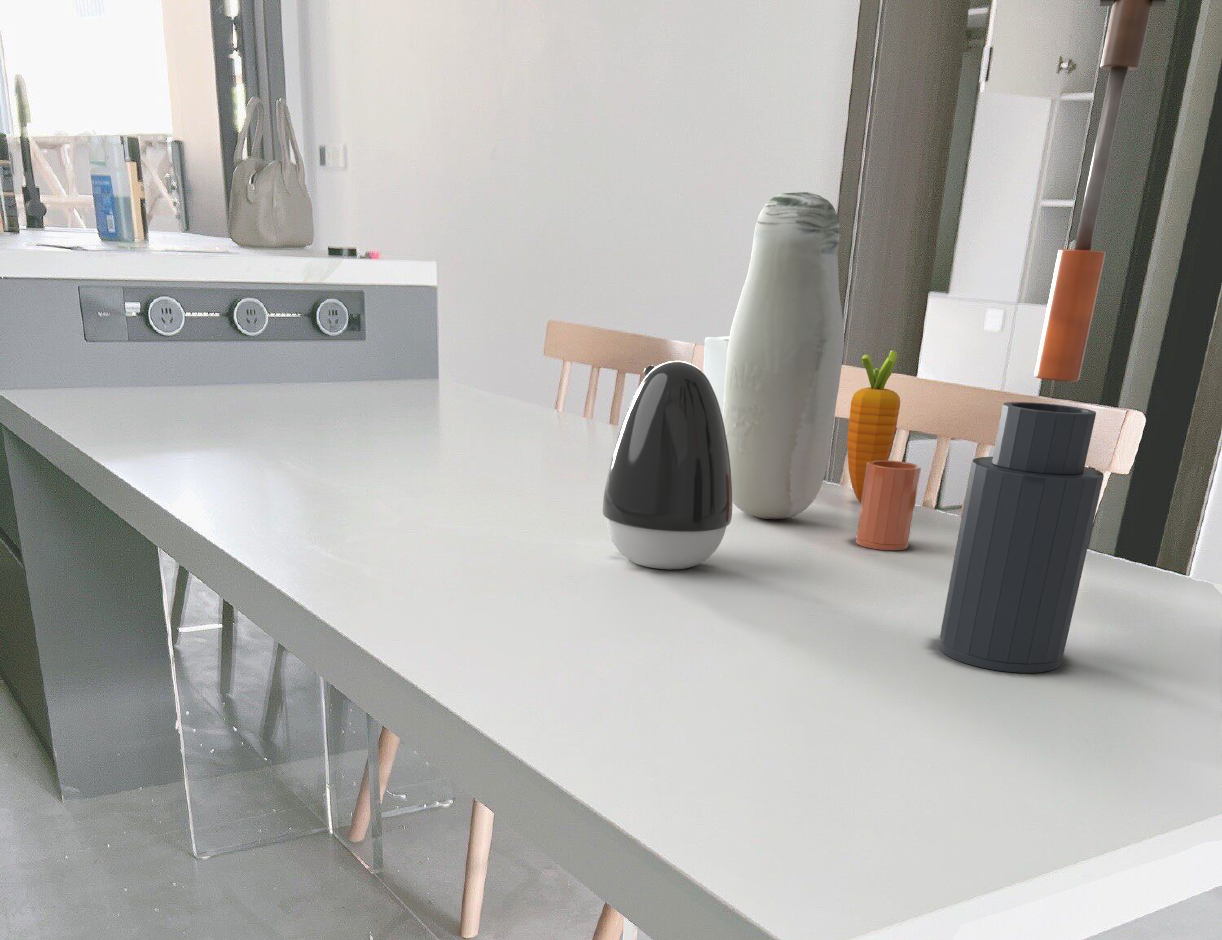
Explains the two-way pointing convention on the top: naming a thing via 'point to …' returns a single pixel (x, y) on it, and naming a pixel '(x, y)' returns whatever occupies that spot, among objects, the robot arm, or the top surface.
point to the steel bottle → (1023, 541)
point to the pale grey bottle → (785, 359)
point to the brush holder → (887, 504)
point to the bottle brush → (1090, 210)
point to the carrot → (871, 422)
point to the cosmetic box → (716, 365)
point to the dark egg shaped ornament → (670, 472)
